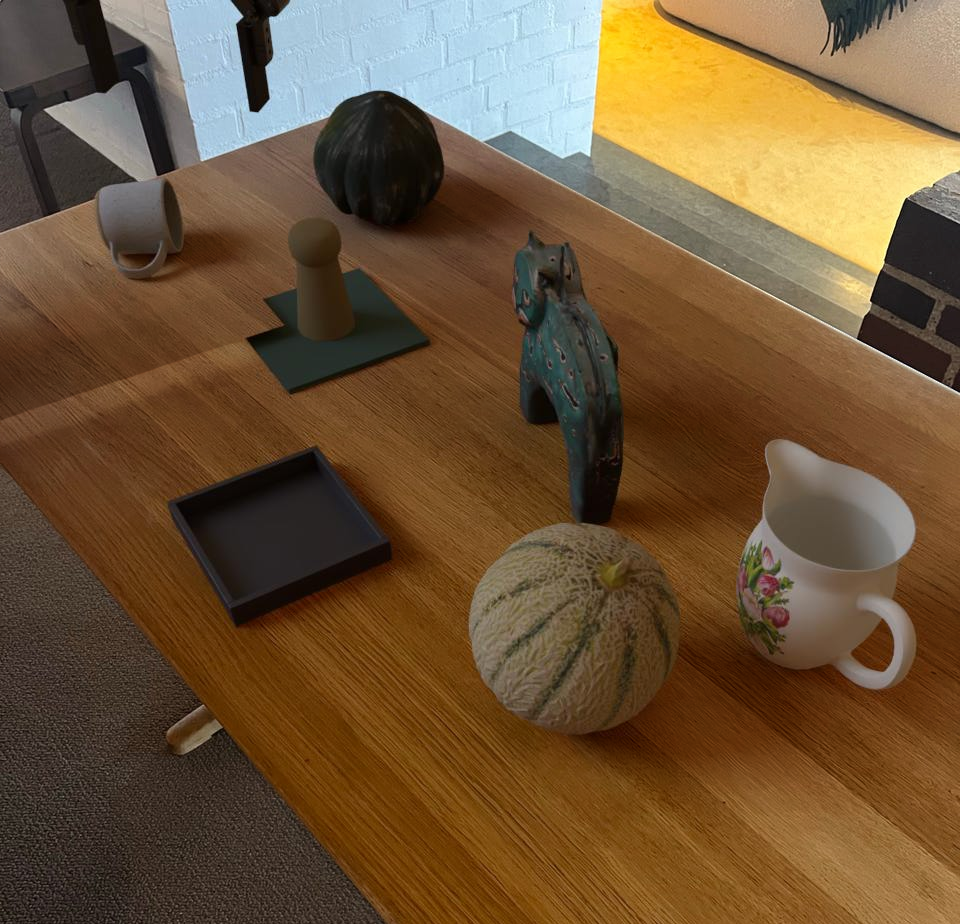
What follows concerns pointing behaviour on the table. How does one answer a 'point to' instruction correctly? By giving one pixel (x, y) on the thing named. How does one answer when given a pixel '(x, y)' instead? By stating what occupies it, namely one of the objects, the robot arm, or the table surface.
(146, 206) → the ceramic mug
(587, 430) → the ceramic cat
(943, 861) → the table surface
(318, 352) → the mat
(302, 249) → the wooden peg doll
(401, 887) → the table surface
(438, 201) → the table surface
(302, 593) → the tray
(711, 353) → the table surface
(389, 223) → the squash
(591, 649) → the cantaloupe
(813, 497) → the pitcher
